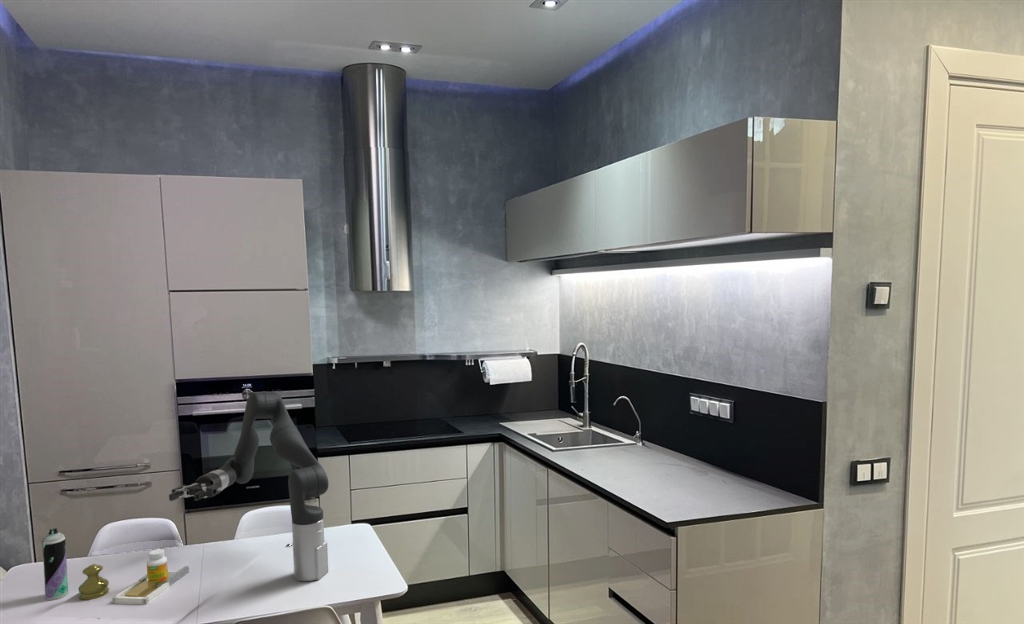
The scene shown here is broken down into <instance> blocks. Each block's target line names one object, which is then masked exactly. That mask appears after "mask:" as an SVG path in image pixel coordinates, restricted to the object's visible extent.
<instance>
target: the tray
mask: <svg viewBox="0 0 1024 624" xmlns="http://www.w3.org/2000/svg"><path fill="white" fill-rule="evenodd" d="M139 584H140V582H138V581H136V582H134V583H133V584H131V585H130V586H129V587H127V588H125V589H123V590H122V591H120V592H119V593H117V594H116V595H114V596H113V597H111V598H112V604H122V605H123V604H124V605H125V604H127V605H128V604H129V605H148V604H149V603H150V602H152V601H153V600H154V599H156V598H157V597H159V596H160V595H161V594H163V593H164V592H166V591H167V590H169V589H170V587H169V583H165V584H163V585H162V586H160V587H158V588H157V589H156V590H154V591H153V592H152V593H150V594H149V595H147V596H146V597H126V596H125V593H127V592H129V591H130V590H132V589H133V588H135V587H136V586H138V585H139Z"/></svg>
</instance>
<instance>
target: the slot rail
mask: <svg viewBox="0 0 1024 624" xmlns="http://www.w3.org/2000/svg"><path fill="white" fill-rule="evenodd" d="M189 574H190V566H189V565H185V566H184V567H182V568H180V569H179V570H177V571H168V578H167V579H166V580H164V584H165V583H169V588H170V587H171V586H173V585H174V584H176V583H177V582H179V581H180V580H181V579H183V578H184V577H186V575H189ZM144 581H148V578H147V574H145V575H144V576H142V577H141V578H139V579H138V580H137V582H140V584H141V583H142V582H144Z"/></svg>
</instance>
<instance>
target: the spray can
mask: <svg viewBox="0 0 1024 624" xmlns="http://www.w3.org/2000/svg"><path fill="white" fill-rule="evenodd" d="M41 544H42V559H43V561H42V562H43V576H44V577H43V578H44V579H43V580H44V594H45V601H55V600H58V599H59V600H60V599H62V598H65V597H67V596H68V595H69V585H68V584H69V583H68V566H67V565H68V564H67V549H66V548H67V546H66V537H65V534H64V533H61V532H60V531H58V529H57V528H56V527H55V528H49V531H48V533H47V535H46V536H44V537H43V538H42V541H41Z"/></svg>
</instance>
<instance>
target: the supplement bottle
mask: <svg viewBox="0 0 1024 624" xmlns="http://www.w3.org/2000/svg"><path fill="white" fill-rule="evenodd" d="M148 558H149V559H148V560H147V561H146V572H147V573H146V575H147V578H148V581H157V582H158V588H159V587H160V586H162V585H163V584H164V580H166V579H167V578H168V572H169V569H168V568H169V566H168V565H169V563H168V557H167V556H165V550H164V549H162V548H157V549H153V550H150V551H149V552H148Z"/></svg>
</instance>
